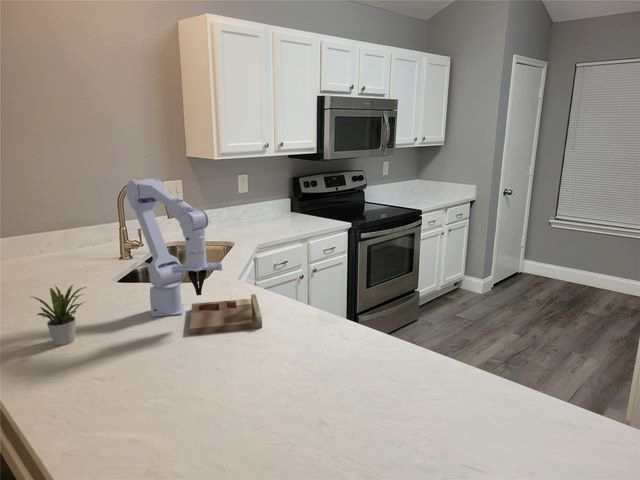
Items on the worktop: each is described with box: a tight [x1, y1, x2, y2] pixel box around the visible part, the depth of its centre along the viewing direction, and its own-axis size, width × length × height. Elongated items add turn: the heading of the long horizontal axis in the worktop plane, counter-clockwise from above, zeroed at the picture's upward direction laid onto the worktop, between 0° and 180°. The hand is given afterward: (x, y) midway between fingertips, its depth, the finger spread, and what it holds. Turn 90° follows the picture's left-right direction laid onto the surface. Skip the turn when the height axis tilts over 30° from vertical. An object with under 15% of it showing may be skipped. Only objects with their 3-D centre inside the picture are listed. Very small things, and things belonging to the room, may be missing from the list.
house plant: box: [29, 284, 87, 346], centre depth 127 cm, size 14×14×16 cm
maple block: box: [235, 298, 252, 319], centre depth 140 cm, size 4×4×4 cm
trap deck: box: [188, 293, 263, 336], centre depth 143 cm, size 21×20×4 cm
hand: (199, 294), depth 138 cm, fingers closed
